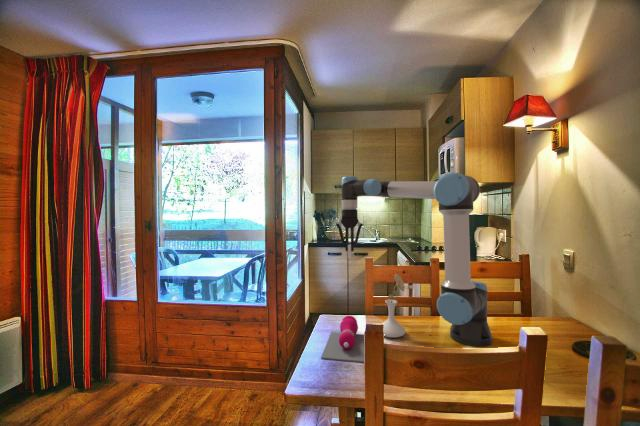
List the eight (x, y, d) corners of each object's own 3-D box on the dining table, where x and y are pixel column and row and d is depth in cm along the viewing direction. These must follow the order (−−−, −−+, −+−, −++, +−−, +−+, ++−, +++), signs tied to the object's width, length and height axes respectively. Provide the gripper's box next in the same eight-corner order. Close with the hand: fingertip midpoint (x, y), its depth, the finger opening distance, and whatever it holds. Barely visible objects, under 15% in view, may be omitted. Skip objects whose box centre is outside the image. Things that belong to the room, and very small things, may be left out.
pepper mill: (337, 320, 128) (331, 343, 108) (350, 310, 127) (347, 332, 107) (348, 334, 128) (344, 359, 108) (361, 324, 126) (360, 348, 107)
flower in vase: (394, 343, 117) (394, 278, 117) (371, 333, 126) (371, 273, 126) (413, 334, 126) (413, 273, 125) (391, 326, 134) (391, 269, 134)
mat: (331, 333, 127) (331, 332, 127) (369, 336, 124) (369, 335, 124) (321, 358, 105) (321, 357, 105) (367, 363, 102) (367, 361, 102)
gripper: (363, 208, 148) (363, 257, 148) (337, 209, 150) (337, 256, 151) (362, 208, 140) (362, 259, 141) (334, 209, 143) (335, 259, 143)
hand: (349, 258), depth 146 cm, fingers closed
